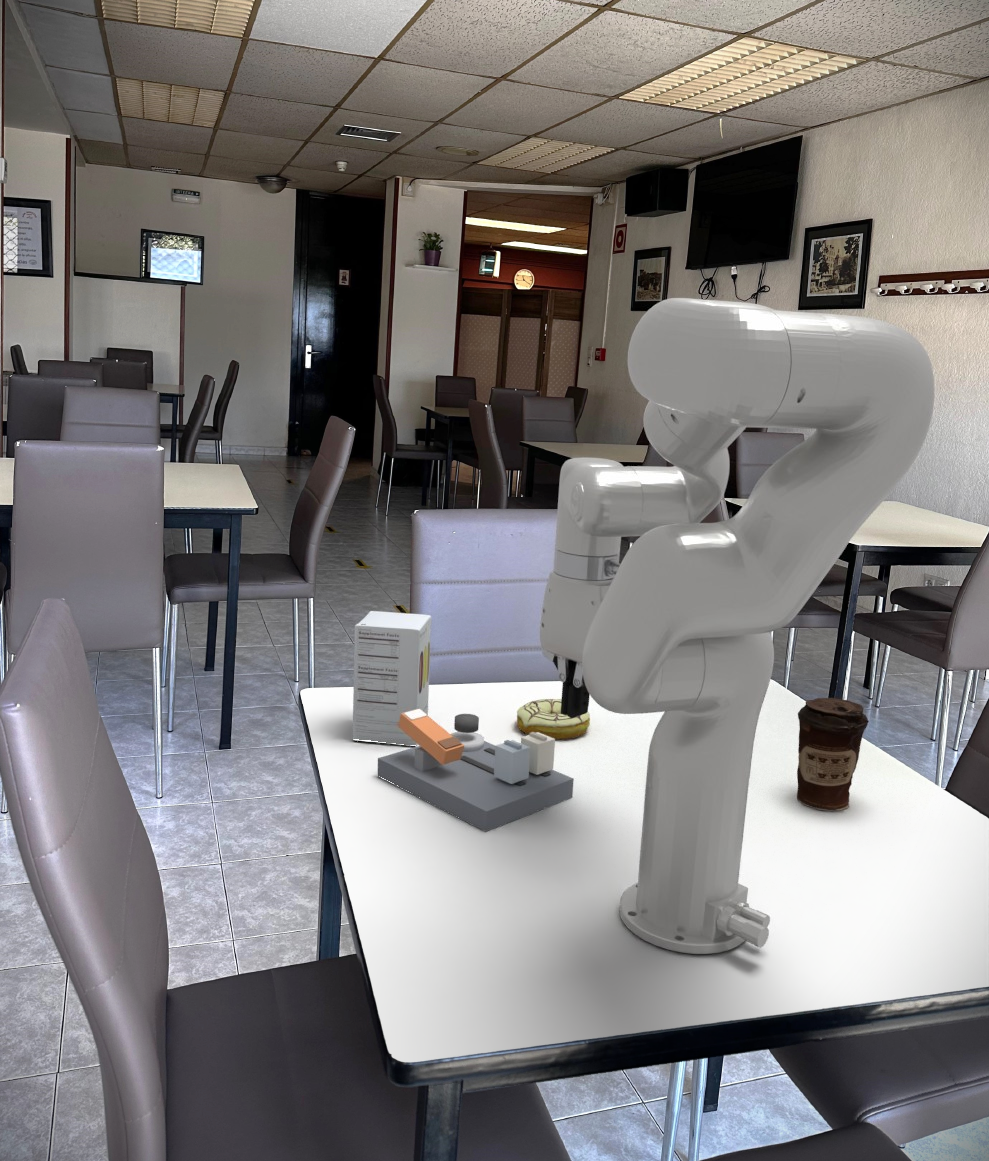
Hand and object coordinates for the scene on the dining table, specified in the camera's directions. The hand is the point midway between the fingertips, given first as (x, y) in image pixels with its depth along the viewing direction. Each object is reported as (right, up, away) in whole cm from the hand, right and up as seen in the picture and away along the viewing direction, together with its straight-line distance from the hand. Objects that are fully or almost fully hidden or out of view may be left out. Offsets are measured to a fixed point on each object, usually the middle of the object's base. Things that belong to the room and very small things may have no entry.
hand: (574, 713), depth 122 cm
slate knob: (-8, -8, +2) cm, 11 cm away
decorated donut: (-1, -6, +28) cm, 29 cm away
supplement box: (-24, -6, +23) cm, 34 cm away
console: (-12, -10, +6) cm, 17 cm away
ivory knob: (-4, -8, +5) cm, 10 cm away
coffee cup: (+32, -12, +6) cm, 35 cm away
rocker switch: (-18, -3, +5) cm, 19 cm away
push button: (-13, -4, +13) cm, 19 cm away
